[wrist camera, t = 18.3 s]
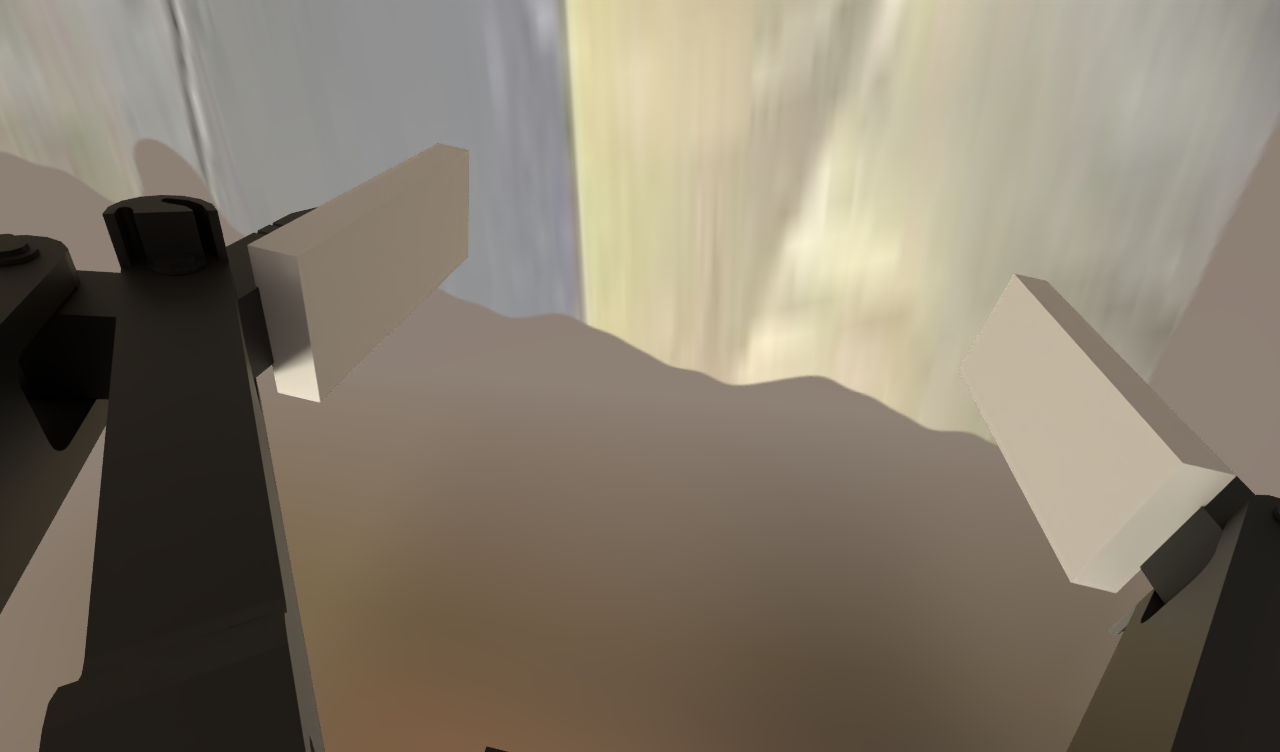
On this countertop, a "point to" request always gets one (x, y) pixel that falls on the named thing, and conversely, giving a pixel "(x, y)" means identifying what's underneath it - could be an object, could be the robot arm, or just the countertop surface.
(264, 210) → the countertop surface
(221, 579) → the robot arm
